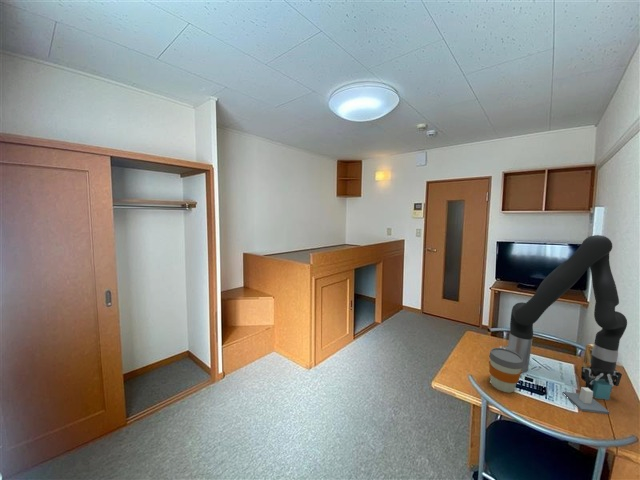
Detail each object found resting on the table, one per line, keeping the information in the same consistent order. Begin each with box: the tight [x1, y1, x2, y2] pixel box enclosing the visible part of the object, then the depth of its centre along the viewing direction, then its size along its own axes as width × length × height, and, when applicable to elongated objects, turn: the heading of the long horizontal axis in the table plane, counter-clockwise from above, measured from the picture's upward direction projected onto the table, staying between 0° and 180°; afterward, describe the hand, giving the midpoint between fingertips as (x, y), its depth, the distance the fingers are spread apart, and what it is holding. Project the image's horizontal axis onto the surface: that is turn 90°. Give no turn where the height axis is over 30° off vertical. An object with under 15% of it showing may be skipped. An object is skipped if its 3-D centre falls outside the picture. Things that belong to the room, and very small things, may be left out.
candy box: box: [582, 343, 604, 380], centre depth 129 cm, size 9×4×15 cm, turn 13°
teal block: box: [590, 377, 613, 401], centre depth 118 cm, size 5×5×7 cm
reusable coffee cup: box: [488, 347, 523, 393], centre depth 121 cm, size 13×13×15 cm
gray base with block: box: [562, 386, 610, 415], centre depth 112 cm, size 10×10×6 cm
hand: (597, 391), depth 118 cm, fingers open, 6 cm apart
